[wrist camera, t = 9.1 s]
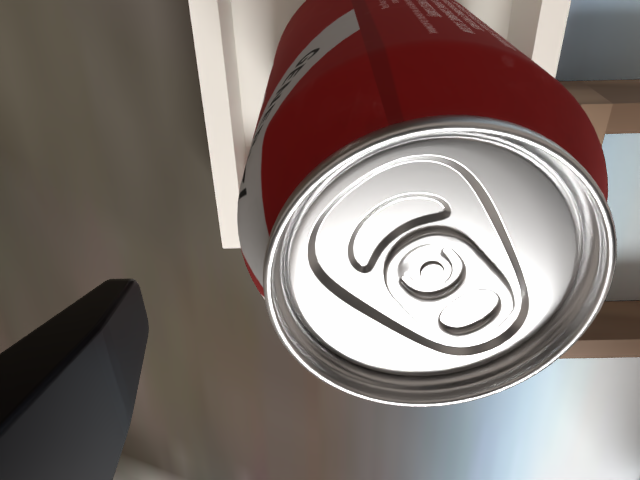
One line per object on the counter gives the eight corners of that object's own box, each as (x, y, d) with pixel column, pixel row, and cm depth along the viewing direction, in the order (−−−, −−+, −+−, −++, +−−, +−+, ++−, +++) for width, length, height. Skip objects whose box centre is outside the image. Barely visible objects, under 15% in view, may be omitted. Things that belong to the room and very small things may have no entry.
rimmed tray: (498, 201, 22) (521, 241, 20) (233, 207, 22) (222, 248, 20) (551, -113, 16) (594, -114, 14) (196, -103, 16) (174, -103, 14)
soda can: (390, -87, 16) (510, -53, 6) (511, 83, 19) (732, 302, 9) (233, 67, 19) (131, 275, 9) (359, 199, 21) (397, 476, 11)
